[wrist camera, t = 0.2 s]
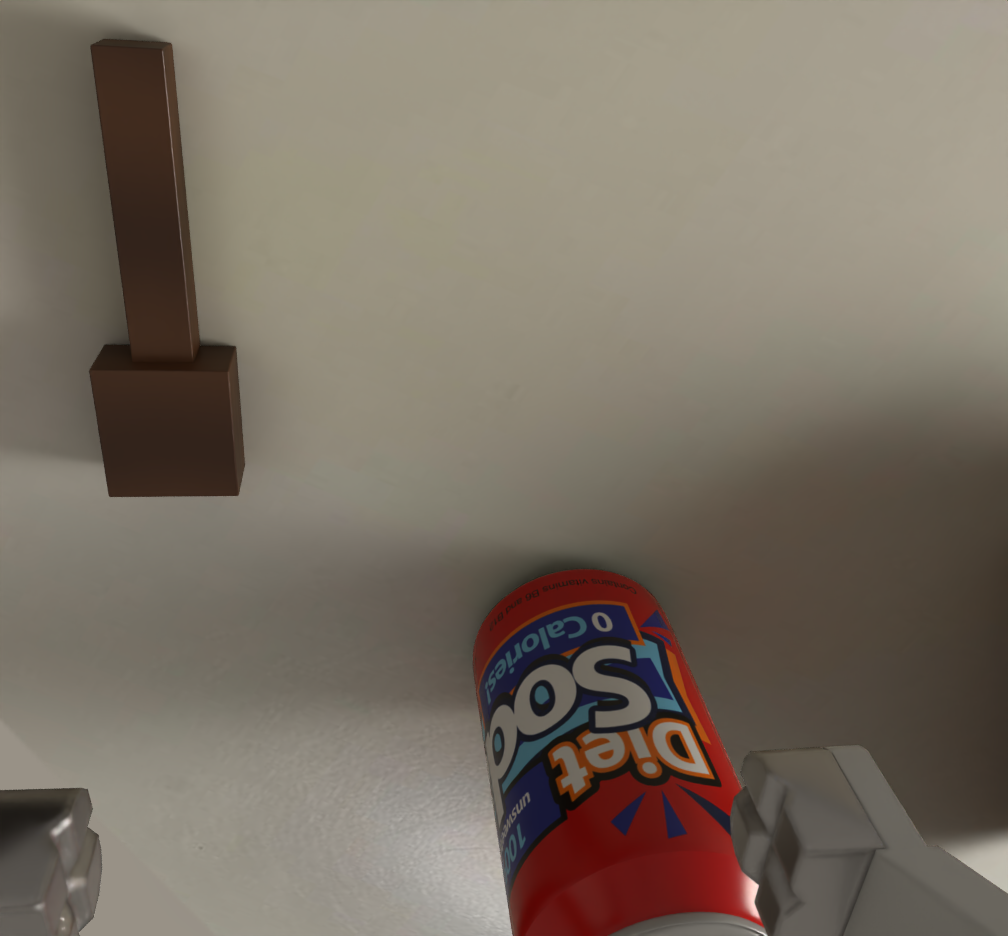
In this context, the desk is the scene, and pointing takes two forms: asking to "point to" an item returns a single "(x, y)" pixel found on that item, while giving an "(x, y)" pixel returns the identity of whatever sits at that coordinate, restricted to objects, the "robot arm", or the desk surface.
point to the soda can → (605, 767)
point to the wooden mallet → (158, 300)
